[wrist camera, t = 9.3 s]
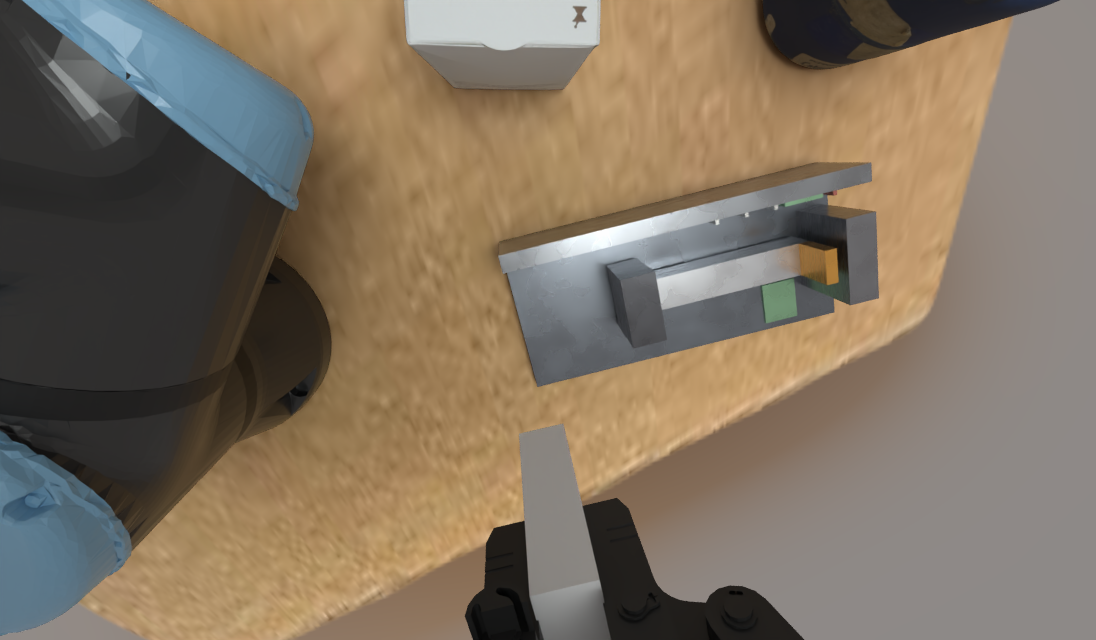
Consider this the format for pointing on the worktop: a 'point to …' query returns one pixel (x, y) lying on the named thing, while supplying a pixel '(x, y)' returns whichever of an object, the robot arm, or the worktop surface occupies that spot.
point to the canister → (874, 25)
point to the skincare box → (504, 40)
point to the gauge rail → (679, 237)
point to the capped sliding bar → (709, 281)
